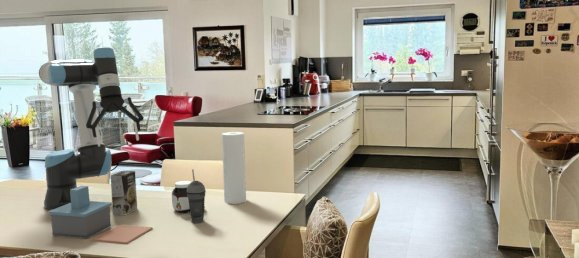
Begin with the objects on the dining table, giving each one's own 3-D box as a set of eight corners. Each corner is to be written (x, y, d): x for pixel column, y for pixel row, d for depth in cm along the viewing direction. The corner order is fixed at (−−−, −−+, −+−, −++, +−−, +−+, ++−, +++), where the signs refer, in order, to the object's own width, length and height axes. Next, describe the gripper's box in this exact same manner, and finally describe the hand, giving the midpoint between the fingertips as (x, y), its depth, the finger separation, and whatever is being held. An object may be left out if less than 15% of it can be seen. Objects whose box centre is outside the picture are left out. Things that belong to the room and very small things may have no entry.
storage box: (52, 235, 183) (50, 213, 181) (79, 223, 196) (77, 203, 195) (86, 238, 178) (84, 216, 177) (110, 226, 192) (109, 205, 191)
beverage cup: (198, 225, 191) (195, 172, 188) (183, 222, 195) (181, 170, 192) (211, 219, 197) (208, 168, 194) (196, 217, 201) (194, 166, 198)
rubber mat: (91, 240, 177) (91, 238, 177) (119, 226, 192) (119, 224, 192) (126, 243, 173) (126, 242, 173) (152, 228, 188) (152, 227, 188)
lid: (48, 217, 181) (46, 192, 180) (77, 205, 196) (75, 182, 194) (84, 220, 177) (82, 194, 176) (112, 208, 191) (110, 184, 190)
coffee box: (127, 215, 206) (124, 175, 203) (112, 214, 207) (109, 175, 205) (138, 208, 214) (135, 170, 212) (123, 208, 216) (121, 170, 214)
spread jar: (169, 210, 211) (168, 182, 209) (192, 204, 219) (190, 177, 218) (187, 216, 203) (185, 187, 201) (209, 209, 211) (208, 181, 210)
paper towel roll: (220, 202, 221) (217, 133, 217) (230, 197, 229) (228, 130, 226) (239, 204, 217) (237, 134, 213) (249, 198, 226) (247, 131, 222)
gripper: (73, 88, 185) (81, 146, 181) (144, 80, 193) (153, 135, 189) (74, 95, 192) (83, 150, 188) (143, 86, 200) (152, 139, 196)
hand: (118, 142), depth 189 cm, fingers open, 13 cm apart
